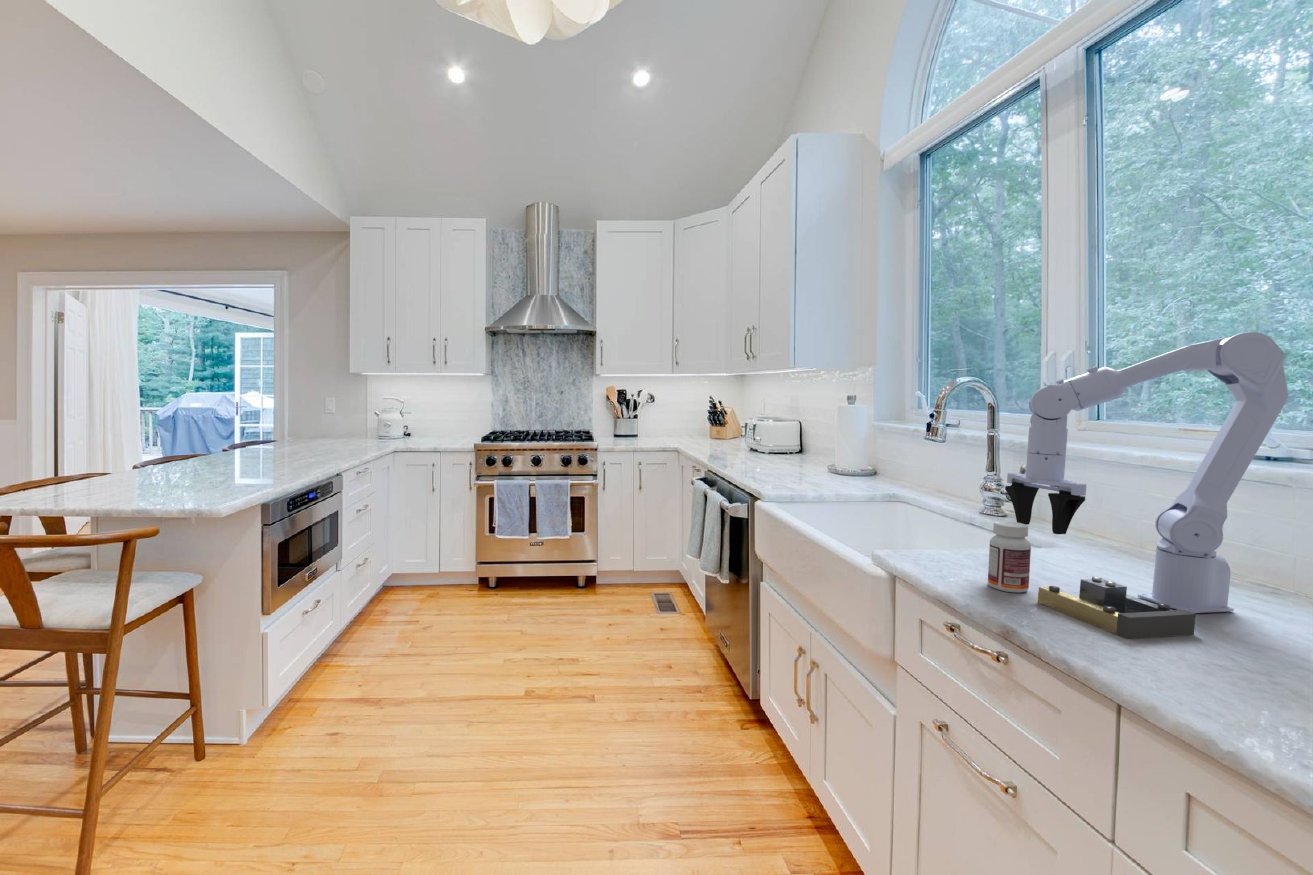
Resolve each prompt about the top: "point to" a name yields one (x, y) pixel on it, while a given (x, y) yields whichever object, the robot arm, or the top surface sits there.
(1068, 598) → the brass end link
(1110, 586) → the grey bolted block
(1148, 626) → the block
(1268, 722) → the top surface
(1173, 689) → the top surface
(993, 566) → the pill bottle
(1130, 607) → the steel end link
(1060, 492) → the robot arm
